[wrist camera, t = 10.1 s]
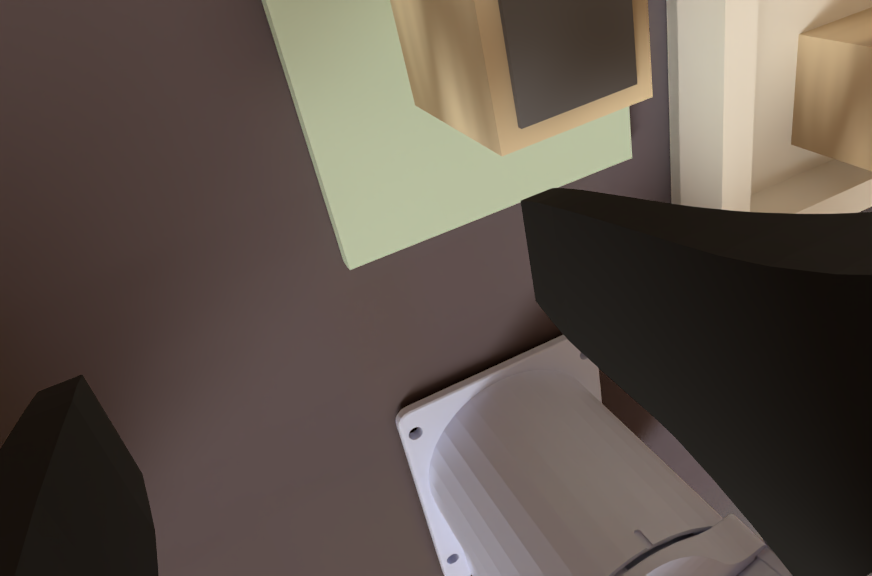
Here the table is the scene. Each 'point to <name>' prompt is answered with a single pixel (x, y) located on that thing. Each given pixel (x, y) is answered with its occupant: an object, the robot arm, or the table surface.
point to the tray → (749, 109)
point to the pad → (406, 135)
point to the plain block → (835, 90)
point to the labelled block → (524, 64)
